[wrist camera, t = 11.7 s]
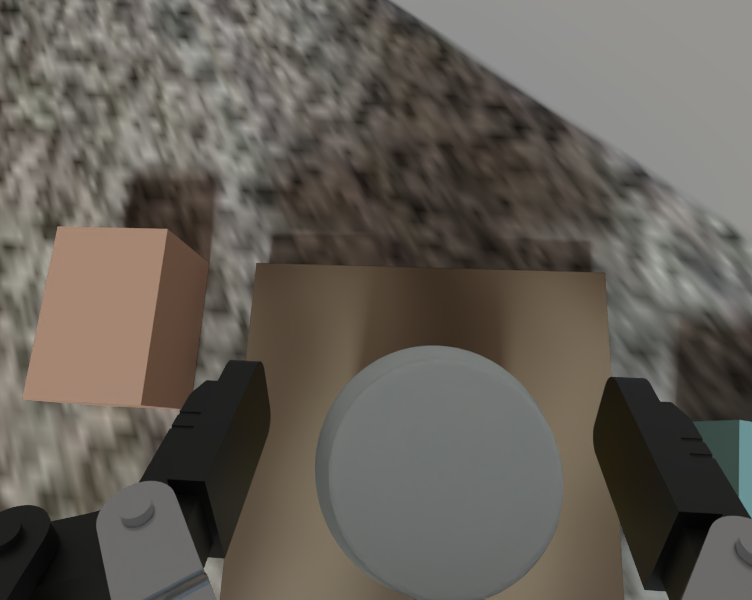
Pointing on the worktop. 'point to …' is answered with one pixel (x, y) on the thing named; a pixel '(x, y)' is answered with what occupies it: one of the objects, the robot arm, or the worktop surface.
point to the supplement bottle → (439, 474)
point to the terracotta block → (118, 319)
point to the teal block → (731, 453)
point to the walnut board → (401, 331)
